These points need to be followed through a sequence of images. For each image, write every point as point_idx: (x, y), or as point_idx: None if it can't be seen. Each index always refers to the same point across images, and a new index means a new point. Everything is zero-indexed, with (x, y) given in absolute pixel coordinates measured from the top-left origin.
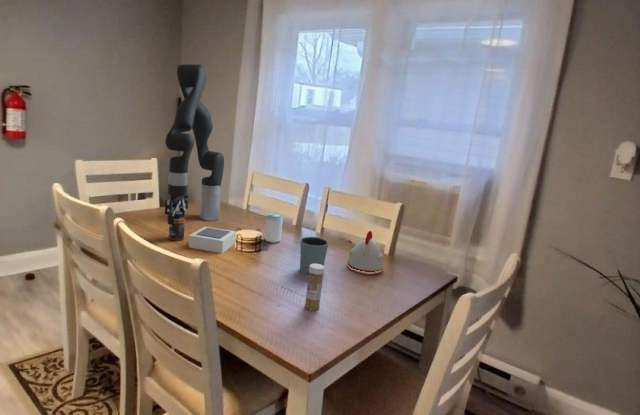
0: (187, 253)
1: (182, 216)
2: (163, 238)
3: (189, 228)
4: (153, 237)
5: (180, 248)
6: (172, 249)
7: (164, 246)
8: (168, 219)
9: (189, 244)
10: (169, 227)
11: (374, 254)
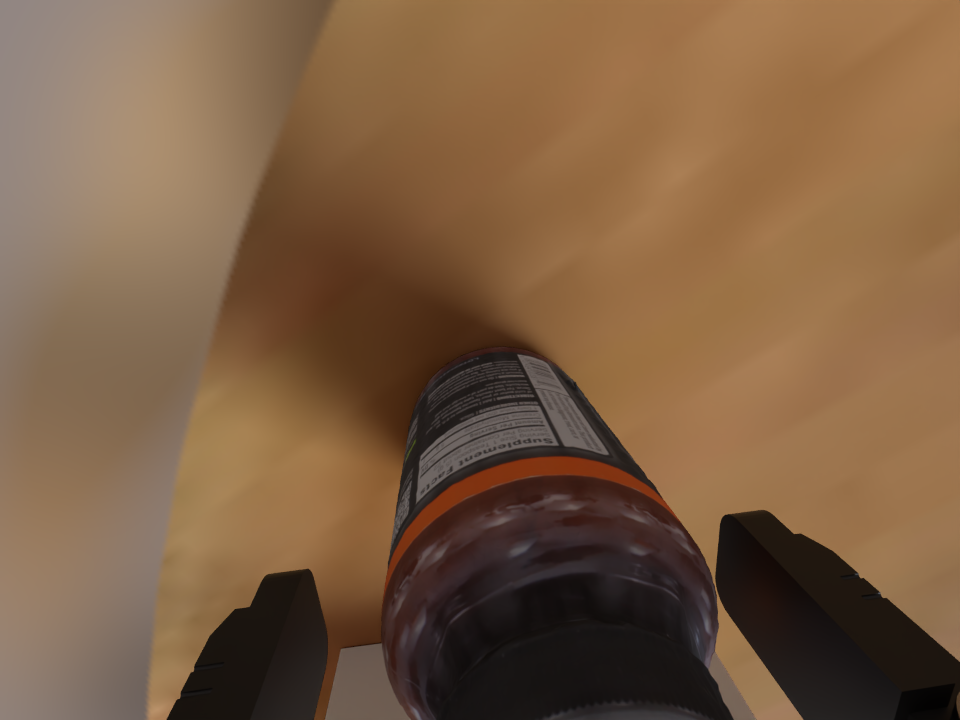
0: None
1: (768, 642)
2: (423, 293)
3: (955, 304)
4: (376, 156)
5: None
6: (184, 579)
7: (196, 473)
8: (176, 717)
9: (335, 683)
10: (432, 440)
11: None
